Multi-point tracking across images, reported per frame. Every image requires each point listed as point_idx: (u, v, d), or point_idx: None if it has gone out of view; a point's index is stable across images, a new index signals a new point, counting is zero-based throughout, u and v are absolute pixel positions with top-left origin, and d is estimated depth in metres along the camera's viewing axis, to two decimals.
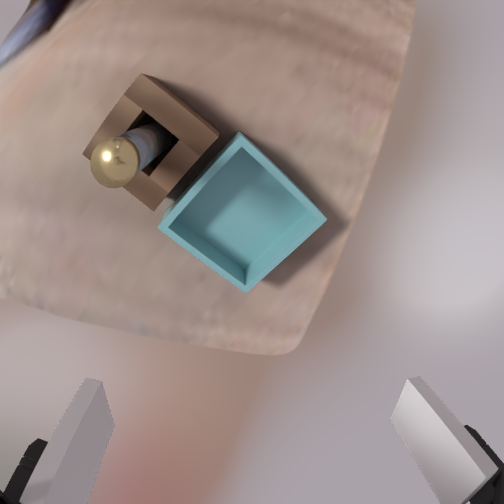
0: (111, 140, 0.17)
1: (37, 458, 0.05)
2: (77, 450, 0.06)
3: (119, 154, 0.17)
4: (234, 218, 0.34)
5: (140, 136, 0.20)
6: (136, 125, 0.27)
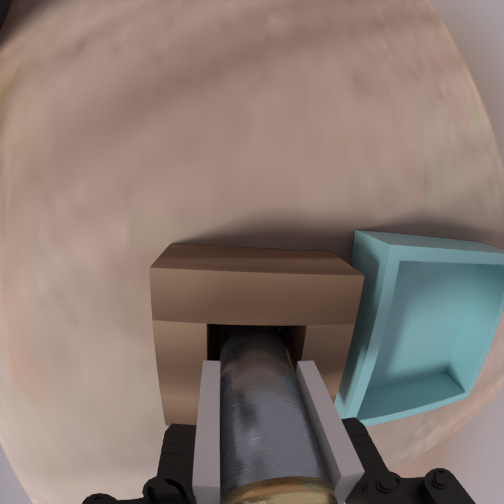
0: None
1: (180, 442, 0.08)
2: None
3: None
4: (415, 337, 0.20)
5: (271, 418, 0.08)
6: (209, 335, 0.17)
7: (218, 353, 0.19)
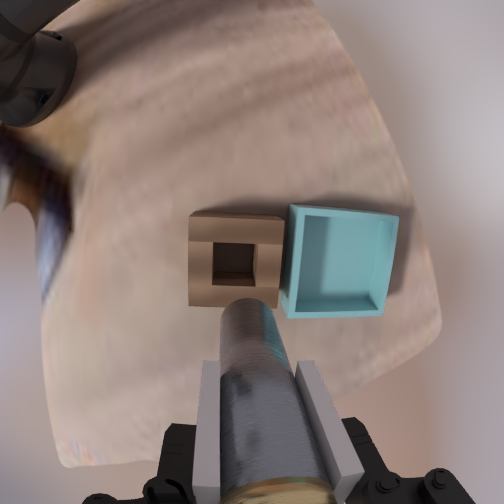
0: None
1: (180, 442, 0.08)
2: None
3: None
4: (335, 268, 0.37)
5: (271, 418, 0.08)
6: (213, 256, 0.34)
7: (218, 272, 0.37)
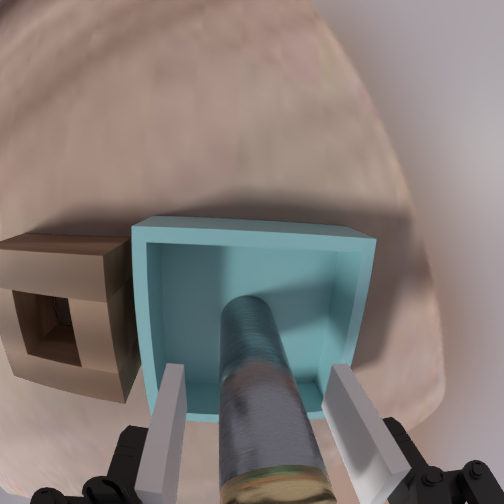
0: (246, 502, 0.06)
1: (134, 444, 0.07)
2: (175, 429, 0.08)
3: None
4: None
5: (269, 410, 0.09)
6: (39, 306, 0.17)
7: (61, 326, 0.19)
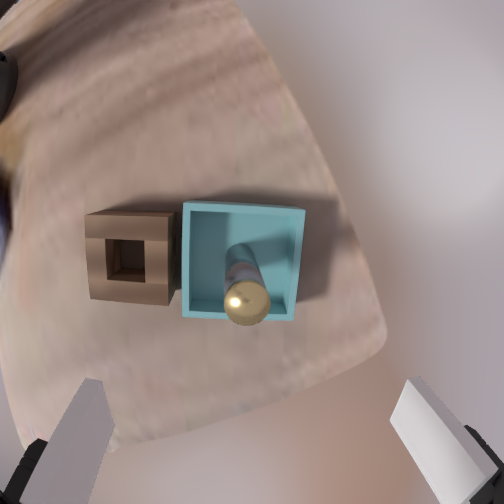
0: (234, 289, 0.21)
1: (37, 458, 0.05)
2: (77, 450, 0.06)
3: (248, 295, 0.22)
4: None
5: (245, 269, 0.25)
6: (114, 252, 0.33)
7: (124, 268, 0.35)
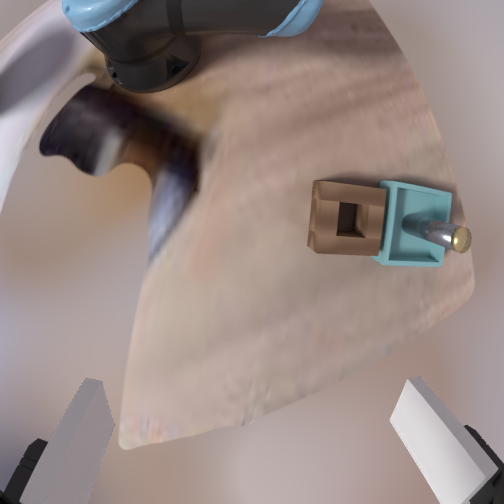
0: (460, 230, 0.31)
1: (37, 458, 0.05)
2: (77, 450, 0.06)
3: (464, 234, 0.31)
4: None
5: (449, 223, 0.34)
6: None
7: None
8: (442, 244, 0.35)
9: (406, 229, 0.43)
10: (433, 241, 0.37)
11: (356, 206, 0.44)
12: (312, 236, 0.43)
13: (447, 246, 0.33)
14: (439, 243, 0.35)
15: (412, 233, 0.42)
